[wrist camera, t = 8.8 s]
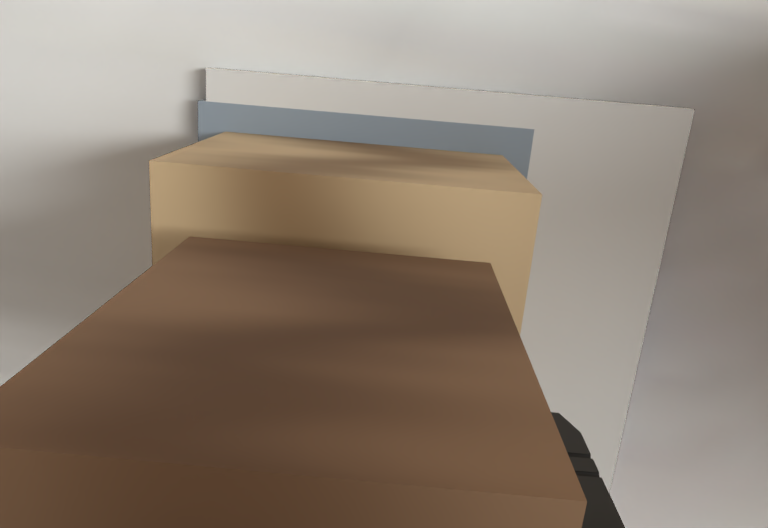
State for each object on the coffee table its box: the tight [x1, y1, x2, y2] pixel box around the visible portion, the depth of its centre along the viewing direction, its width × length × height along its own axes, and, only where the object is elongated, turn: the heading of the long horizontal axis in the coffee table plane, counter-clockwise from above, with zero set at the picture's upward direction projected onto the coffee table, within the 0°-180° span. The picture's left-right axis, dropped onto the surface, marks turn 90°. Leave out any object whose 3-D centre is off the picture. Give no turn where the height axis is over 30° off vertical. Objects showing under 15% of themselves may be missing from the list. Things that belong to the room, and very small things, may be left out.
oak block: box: [149, 132, 542, 335], centre depth 15 cm, size 7×7×5 cm
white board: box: [198, 68, 695, 493], centre depth 19 cm, size 12×22×1 cm, turn 175°
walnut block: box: [0, 236, 587, 528], centre depth 8 cm, size 5×5×6 cm
